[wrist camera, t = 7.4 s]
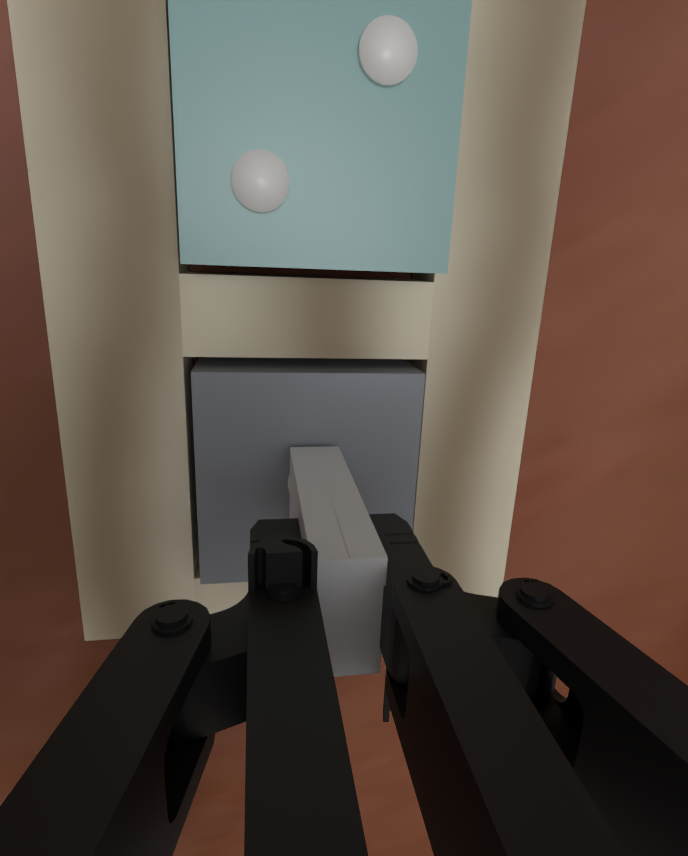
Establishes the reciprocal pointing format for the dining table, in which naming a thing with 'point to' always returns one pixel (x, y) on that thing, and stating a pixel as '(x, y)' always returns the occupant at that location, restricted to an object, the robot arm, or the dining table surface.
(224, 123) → the tile
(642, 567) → the dining table surface
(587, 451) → the dining table surface
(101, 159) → the board
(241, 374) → the tile
